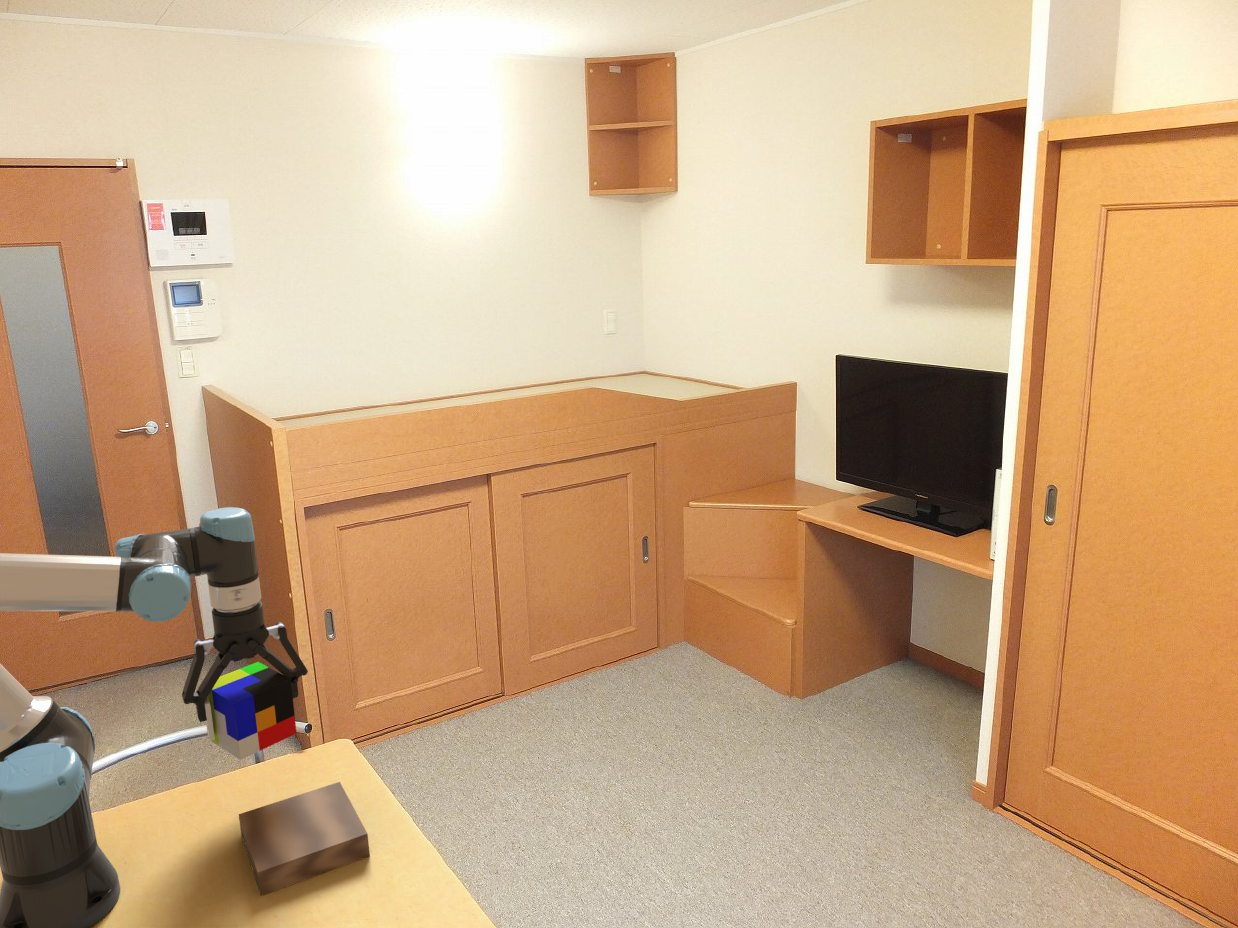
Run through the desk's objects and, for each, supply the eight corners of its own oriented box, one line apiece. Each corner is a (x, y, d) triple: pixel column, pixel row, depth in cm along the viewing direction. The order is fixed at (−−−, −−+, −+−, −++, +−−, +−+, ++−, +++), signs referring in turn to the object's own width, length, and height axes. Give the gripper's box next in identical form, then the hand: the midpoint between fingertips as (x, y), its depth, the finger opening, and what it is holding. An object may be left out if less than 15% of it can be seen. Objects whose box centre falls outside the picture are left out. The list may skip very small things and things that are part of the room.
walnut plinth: (261, 895, 134) (257, 872, 133) (241, 835, 148) (238, 814, 147) (369, 855, 142) (367, 833, 141) (342, 802, 156) (339, 781, 155)
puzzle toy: (240, 759, 147) (233, 702, 144) (208, 738, 153) (201, 683, 150) (296, 733, 154) (290, 678, 152) (264, 714, 160) (258, 661, 158)
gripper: (155, 629, 139) (174, 757, 144) (319, 596, 150) (330, 715, 156) (151, 612, 145) (169, 736, 150) (308, 581, 157) (319, 697, 162)
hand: (251, 725), depth 153 cm, fingers closed on puzzle toy, 12 cm apart
